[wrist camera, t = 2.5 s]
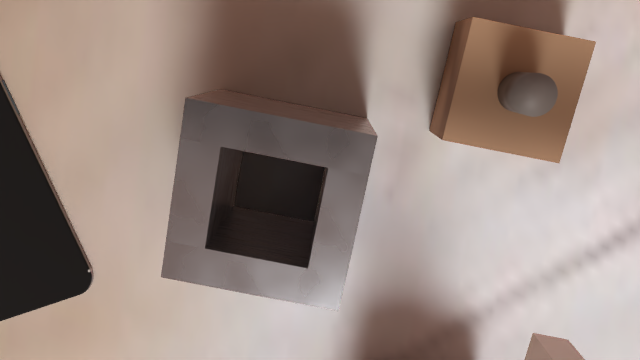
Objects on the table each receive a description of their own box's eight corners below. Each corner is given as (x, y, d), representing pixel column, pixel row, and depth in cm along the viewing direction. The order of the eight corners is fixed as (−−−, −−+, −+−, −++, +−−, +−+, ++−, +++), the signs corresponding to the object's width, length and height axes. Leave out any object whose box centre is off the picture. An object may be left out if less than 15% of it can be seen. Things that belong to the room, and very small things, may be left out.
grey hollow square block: (220, 89, 25) (185, 97, 19) (367, 118, 25) (377, 135, 19) (199, 229, 26) (161, 277, 20) (337, 255, 26) (338, 311, 20)
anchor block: (455, 22, 24) (487, 12, 19) (563, 44, 24) (622, 39, 19) (429, 130, 25) (452, 147, 20) (532, 151, 25) (581, 173, 20)
